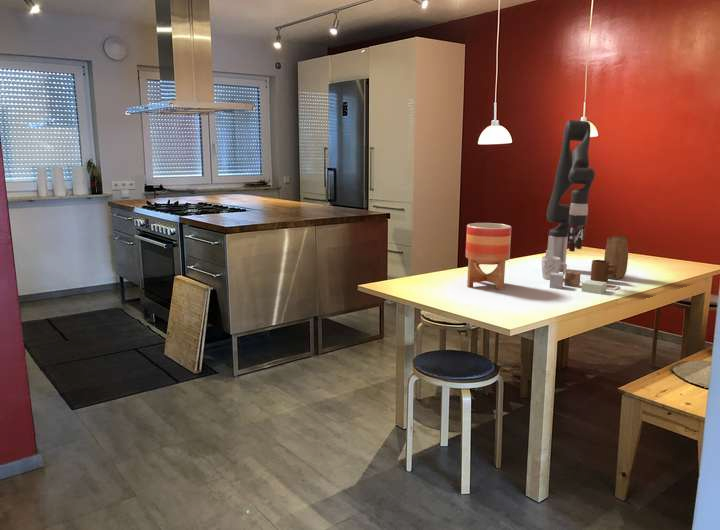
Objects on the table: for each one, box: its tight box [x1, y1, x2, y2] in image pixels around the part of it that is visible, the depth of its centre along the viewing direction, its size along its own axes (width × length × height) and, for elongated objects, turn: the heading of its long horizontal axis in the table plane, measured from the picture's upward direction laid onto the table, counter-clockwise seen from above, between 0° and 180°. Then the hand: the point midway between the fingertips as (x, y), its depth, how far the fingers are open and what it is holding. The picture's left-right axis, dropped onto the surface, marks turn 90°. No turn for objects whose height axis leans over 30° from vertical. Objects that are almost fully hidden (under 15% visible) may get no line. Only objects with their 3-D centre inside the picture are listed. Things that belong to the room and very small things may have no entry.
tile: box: [606, 283, 621, 291], centre depth 256 cm, size 7×7×1 cm
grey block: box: [549, 272, 565, 290], centre depth 255 cm, size 5×5×6 cm
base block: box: [581, 279, 608, 295], centre depth 249 cm, size 8×8×4 cm
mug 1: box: [541, 255, 568, 281], centre depth 272 cm, size 11×8×10 cm
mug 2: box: [590, 259, 618, 282], centre depth 267 cm, size 12×8×9 cm, turn 39°
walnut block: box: [563, 270, 581, 288], centre depth 259 cm, size 5×5×6 cm
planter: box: [465, 222, 512, 291], centre depth 256 cm, size 20×20×27 cm
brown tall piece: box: [603, 235, 629, 280], centre depth 275 cm, size 11×8×20 cm
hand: (575, 250), depth 256 cm, fingers open, 8 cm apart
